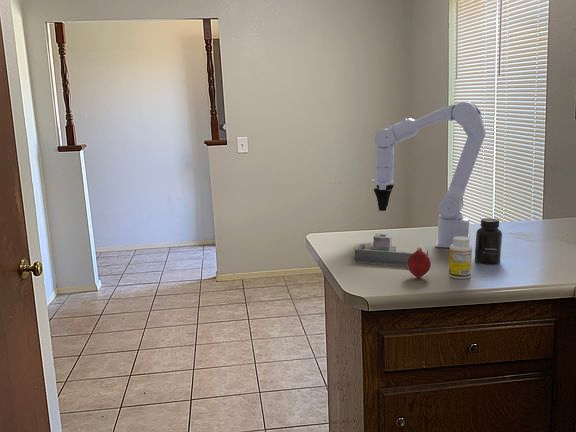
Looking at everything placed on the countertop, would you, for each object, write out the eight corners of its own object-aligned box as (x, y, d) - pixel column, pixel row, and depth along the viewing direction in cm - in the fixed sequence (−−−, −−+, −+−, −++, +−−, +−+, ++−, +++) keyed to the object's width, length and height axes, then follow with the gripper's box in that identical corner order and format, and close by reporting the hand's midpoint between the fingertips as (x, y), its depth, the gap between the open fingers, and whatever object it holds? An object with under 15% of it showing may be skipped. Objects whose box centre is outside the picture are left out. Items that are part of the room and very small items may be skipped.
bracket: (427, 258, 162) (428, 246, 161) (425, 267, 153) (425, 255, 152) (360, 253, 168) (360, 242, 167) (354, 262, 159) (354, 250, 158)
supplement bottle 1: (454, 271, 149) (455, 234, 147) (474, 275, 145) (476, 237, 143) (444, 277, 145) (446, 238, 143) (465, 281, 141) (467, 241, 139)
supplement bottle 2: (487, 266, 153) (490, 223, 151) (469, 260, 159) (471, 219, 157) (505, 262, 156) (508, 220, 154) (487, 257, 162) (489, 216, 160)
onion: (430, 282, 141) (431, 251, 140) (407, 280, 142) (407, 250, 141) (429, 275, 147) (430, 245, 145) (407, 274, 148) (407, 244, 146)
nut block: (391, 246, 176) (392, 233, 175) (389, 250, 172) (389, 237, 171) (376, 245, 178) (376, 233, 177) (373, 249, 173) (373, 236, 172)
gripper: (374, 163, 187) (373, 203, 190) (369, 169, 174) (368, 212, 176) (395, 164, 186) (394, 204, 189) (393, 169, 172) (391, 213, 175)
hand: (383, 208), depth 182 cm, fingers open, 7 cm apart
